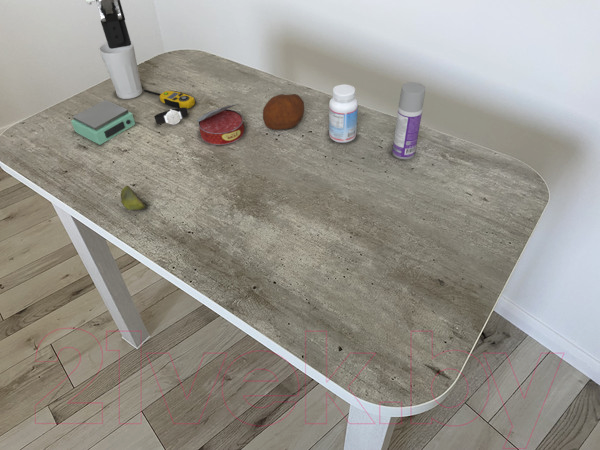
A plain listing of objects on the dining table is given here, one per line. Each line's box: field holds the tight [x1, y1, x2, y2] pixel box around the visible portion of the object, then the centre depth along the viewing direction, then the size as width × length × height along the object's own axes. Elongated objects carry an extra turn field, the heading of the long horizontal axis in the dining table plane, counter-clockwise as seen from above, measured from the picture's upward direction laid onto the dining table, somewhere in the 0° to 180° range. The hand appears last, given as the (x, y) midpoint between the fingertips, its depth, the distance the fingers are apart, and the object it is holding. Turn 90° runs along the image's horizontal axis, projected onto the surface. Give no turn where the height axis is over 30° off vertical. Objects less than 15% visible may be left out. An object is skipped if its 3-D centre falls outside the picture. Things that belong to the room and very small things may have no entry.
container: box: [391, 81, 426, 160], centre depth 96 cm, size 5×5×15 cm
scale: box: [70, 111, 136, 146], centre depth 110 cm, size 10×9×3 cm
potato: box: [262, 93, 305, 131], centre depth 107 cm, size 8×11×8 cm
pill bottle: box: [328, 83, 359, 144], centre depth 102 cm, size 6×6×11 cm
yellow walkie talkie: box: [143, 89, 196, 110], centre depth 119 cm, size 5×2×15 cm
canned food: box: [196, 103, 245, 146], centre depth 106 cm, size 11×10×10 cm
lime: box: [120, 185, 147, 211], centre depth 89 cm, size 4×5×5 cm
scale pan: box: [72, 99, 130, 131], centre depth 108 cm, size 9×8×1 cm
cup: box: [98, 41, 143, 100], centre depth 118 cm, size 8×8×12 cm
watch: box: [154, 108, 189, 125], centre depth 111 cm, size 8×5×4 cm, turn 118°
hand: (117, 33), depth 74 cm, fingers open, 9 cm apart
